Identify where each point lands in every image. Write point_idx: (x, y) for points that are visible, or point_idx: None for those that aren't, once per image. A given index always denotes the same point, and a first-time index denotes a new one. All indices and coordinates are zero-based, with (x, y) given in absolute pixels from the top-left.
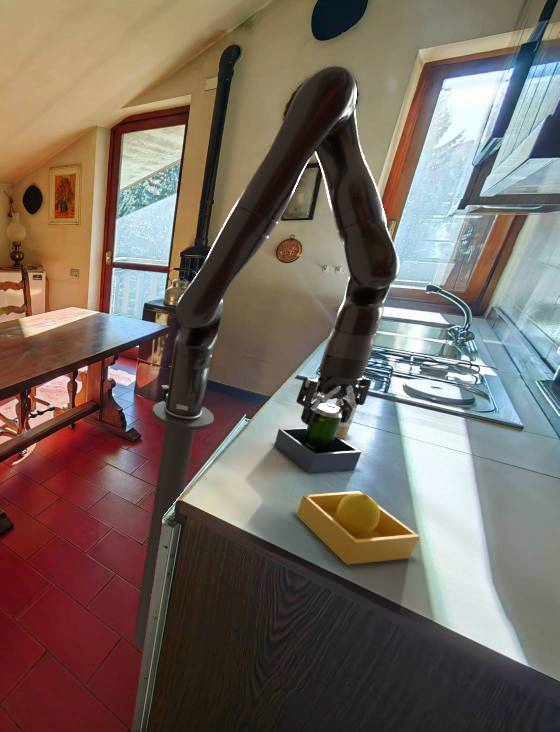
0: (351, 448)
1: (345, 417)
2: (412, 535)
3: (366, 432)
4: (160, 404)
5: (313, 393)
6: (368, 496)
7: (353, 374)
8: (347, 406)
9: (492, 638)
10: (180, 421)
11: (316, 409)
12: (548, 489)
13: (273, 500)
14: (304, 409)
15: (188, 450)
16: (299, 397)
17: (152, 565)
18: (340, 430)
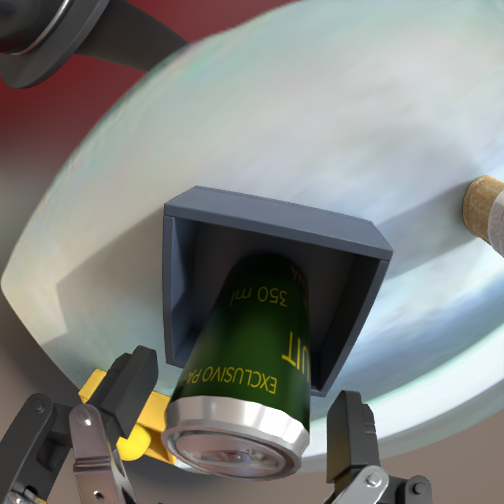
0: (325, 378)
1: (327, 439)
2: (166, 461)
3: None
4: None
5: (47, 490)
6: (124, 458)
7: None
8: (336, 482)
9: (176, 462)
10: (13, 63)
11: (166, 424)
12: (498, 410)
13: (79, 338)
14: (93, 399)
15: (109, 52)
16: (23, 423)
17: None
18: (481, 236)
